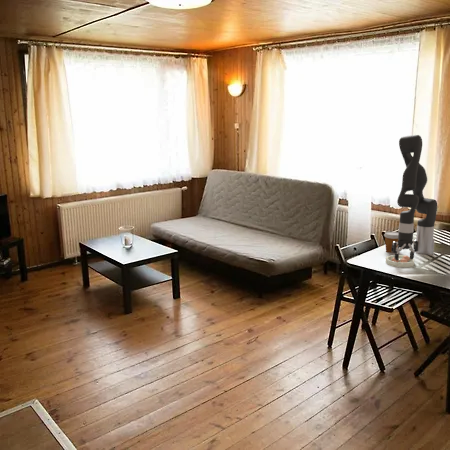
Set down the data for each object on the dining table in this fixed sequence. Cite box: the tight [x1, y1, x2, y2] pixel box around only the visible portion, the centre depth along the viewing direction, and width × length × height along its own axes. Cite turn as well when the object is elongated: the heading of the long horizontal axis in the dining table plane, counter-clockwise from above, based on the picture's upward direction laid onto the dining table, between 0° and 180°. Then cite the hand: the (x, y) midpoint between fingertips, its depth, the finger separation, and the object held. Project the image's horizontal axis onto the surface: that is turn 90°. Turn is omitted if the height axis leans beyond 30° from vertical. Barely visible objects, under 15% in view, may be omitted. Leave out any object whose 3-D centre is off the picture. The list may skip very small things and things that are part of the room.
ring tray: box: [385, 254, 415, 268], centre depth 261 cm, size 15×15×3 cm
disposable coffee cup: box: [383, 231, 399, 254], centre depth 282 cm, size 10×10×12 cm
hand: (404, 259), depth 257 cm, fingers open, 8 cm apart
